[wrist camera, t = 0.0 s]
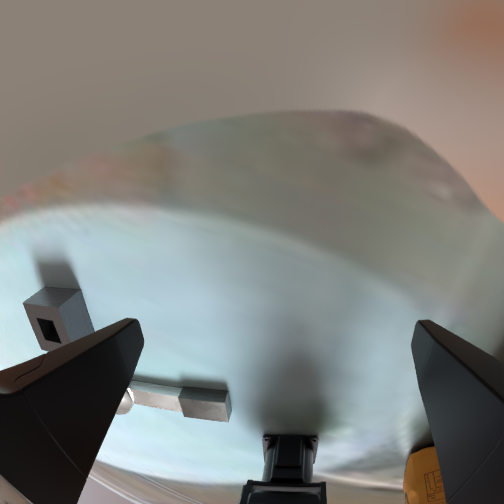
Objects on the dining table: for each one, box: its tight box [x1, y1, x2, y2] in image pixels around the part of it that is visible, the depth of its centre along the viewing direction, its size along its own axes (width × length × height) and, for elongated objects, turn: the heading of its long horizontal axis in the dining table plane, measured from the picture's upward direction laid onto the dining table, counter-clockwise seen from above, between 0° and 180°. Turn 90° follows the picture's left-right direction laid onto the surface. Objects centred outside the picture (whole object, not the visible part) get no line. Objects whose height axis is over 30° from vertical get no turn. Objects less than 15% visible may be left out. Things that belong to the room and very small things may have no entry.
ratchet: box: [116, 380, 232, 422], centre depth 29 cm, size 8×20×6 cm, turn 94°
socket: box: [23, 287, 94, 352], centre depth 28 cm, size 6×6×4 cm
